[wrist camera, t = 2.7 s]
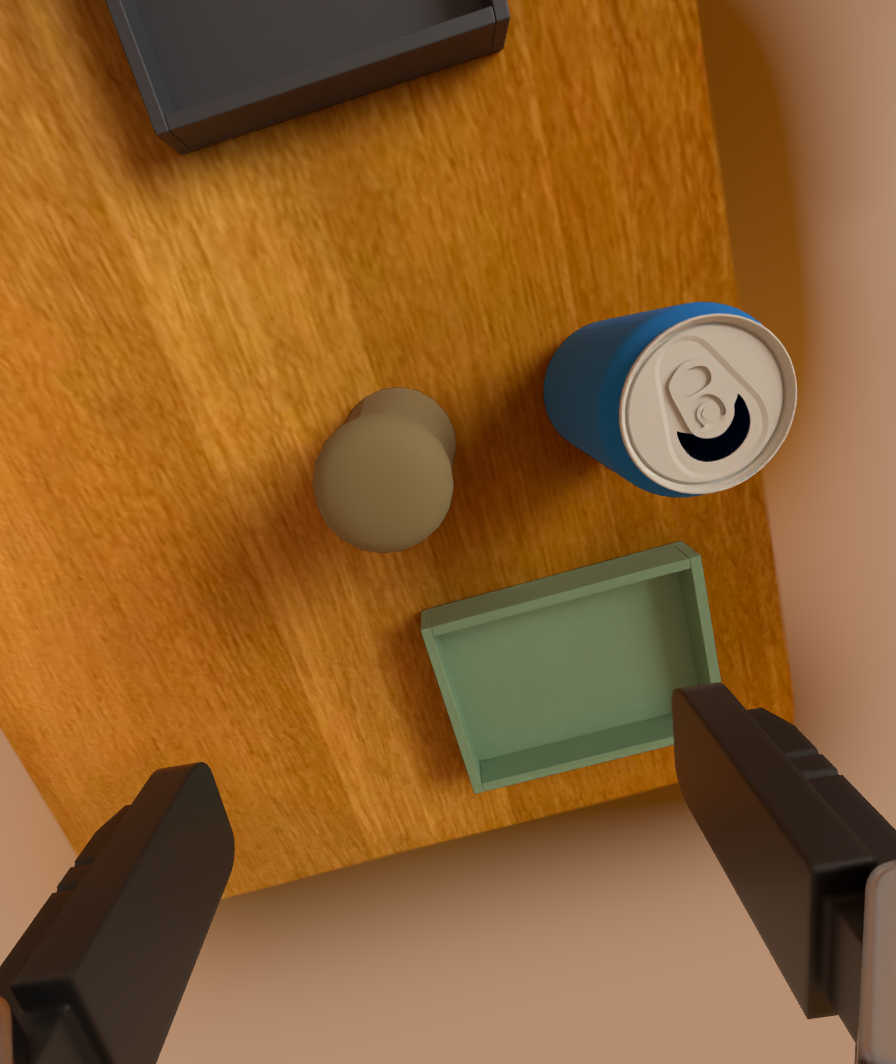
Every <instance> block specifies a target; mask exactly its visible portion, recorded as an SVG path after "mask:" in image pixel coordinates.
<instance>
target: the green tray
mask: <svg viewBox="0 0 896 1064" xmlns="http://www.w3.org/2000/svg"><path fill="white" fill-rule="evenodd" d="M420 631H421V634H422V637H423V640H424V643H425V646H426V649H427V652H428V655H429V658H430V661H431V664H432V667H433V670H434V673H435V676H436V679H437V682H438V685H439V688H440V691H441V694H442V697H443V700H444V703H445V707H446V710H447V713H448V716H449V719H450V722H451V725H452V728H453V731H454V734H455V737H456V740H457V743H458V746H459V749H460V752H461V755H462V758H463V761H464V764H465V767H466V770H467V773H468V776H469V779H470V782H471V785H472V788H473V791H474V793H475V794H477V793H481V792H484V791H489V790H493V789H497V788H501V787H505V786H509V785H513V784H517V783H521V782H525V781H529V780H533V779H537V778H541V777H545V776H549V775H554V774H558V773H562V772H566V771H570V770H574V769H578V768H582V767H586V766H590V765H594V764H598V763H602V762H606V761H610V760H614V759H618V758H622V757H626V756H630V755H634V754H638V753H642V752H646V751H651V750H655V749H659V748H663V747H667V746H671V745H674V737H673V720H672V703H671V697H672V692H673V690H674V689H678V688H684V687H690V686H697V685H703V684H709V683H716V682H720V683H721V679H720V672H719V666H718V660H717V654H716V648H715V641H714V635H713V629H712V623H711V616H710V610H709V604H708V598H707V592H706V585H705V579H704V573H703V567H702V561H701V555H699V554H698V553H697V552H695V551H694V550H693V549H691V548H690V547H689V546H688V545H686V544H685V543H683V542H682V541H679V542H675V543H671V544H667V545H664V546H660V547H656V548H653V549H649V550H645V551H641V552H638V553H634V554H630V555H627V556H623V557H619V558H615V559H612V560H608V561H604V562H601V563H597V564H593V565H589V566H586V567H582V568H578V569H575V570H571V571H567V572H563V573H560V574H556V575H552V576H549V577H545V578H541V579H537V580H534V581H530V582H526V583H523V584H519V585H515V586H512V587H508V588H504V589H500V590H497V591H493V592H489V593H486V594H482V595H478V596H474V597H471V598H467V599H463V600H460V601H456V602H452V603H448V604H445V605H441V606H437V607H434V608H430V609H426V610H422V611H421V630H420Z"/></svg>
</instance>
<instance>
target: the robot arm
mask: <svg viewBox="0 0 896 1064" xmlns="http://www.w3.org/2000/svg"><path fill="white" fill-rule="evenodd" d="M671 703H672V720H673V737H674V753H675V767H676V773H677V778H678V782H679V785H680V788H681V791H682V794H683V796H684V799H685V801H686V803H687V805H688V807H689V809H690V811H691V813H692V814H693V816H694V818H695V820H696V821H697V823H698V825H699V827H700V829H701V830H702V832H703V834H704V836H705V838H706V839H707V841H708V843H709V845H710V846H711V848H712V850H713V852H714V853H715V855H716V857H717V859H718V861H719V862H720V864H721V866H722V868H723V869H724V871H725V873H726V875H727V877H728V878H729V880H730V882H731V884H732V885H733V887H734V889H735V891H736V893H737V894H738V896H739V898H740V900H741V902H742V903H743V905H744V907H745V908H746V910H747V912H748V914H749V916H750V918H751V919H752V921H753V923H754V925H755V926H756V928H757V930H758V932H759V934H760V935H761V937H762V939H763V941H764V943H765V944H766V946H767V948H768V949H769V951H770V953H771V955H772V957H773V958H774V960H775V962H776V964H777V965H778V967H779V969H780V971H781V973H782V974H783V976H784V978H785V980H786V982H787V983H788V985H789V987H790V988H791V990H792V992H793V994H794V996H795V998H796V999H797V1001H798V1003H799V1005H800V1006H801V1008H802V1010H803V1012H804V1013H805V1015H806V1017H807V1019H813V1018H820V1017H827V1016H834V1015H839V1017H840V1018H841V1020H842V1021H843V1023H844V1025H845V1026H846V1028H847V1030H848V1031H849V1033H850V1034H851V1036H852V1038H853V1039H854V1041H855V1043H856V1046H855V1062H854V1064H896V830H895V829H894V828H893V827H892V826H891V825H890V824H889V823H888V822H887V821H886V820H885V819H884V818H883V816H882V815H881V814H879V812H878V811H877V810H876V809H875V808H874V807H873V806H872V805H871V804H870V803H869V802H868V801H867V800H866V799H865V798H864V797H863V796H862V795H861V794H860V793H859V792H858V791H857V790H856V789H855V788H854V787H853V786H852V785H851V784H850V783H849V782H848V780H847V779H846V778H845V777H844V776H843V775H839V774H838V772H837V769H836V768H835V767H834V766H833V765H832V764H831V763H830V762H829V761H828V760H827V759H826V758H825V757H824V756H823V755H822V754H820V755H819V753H818V751H817V749H816V747H815V746H814V745H813V744H812V743H811V742H810V741H809V740H808V739H807V738H806V737H805V736H804V735H803V734H802V733H801V732H800V731H799V730H798V729H797V728H796V727H795V726H794V725H792V724H790V723H789V722H787V721H785V720H783V719H781V718H780V717H778V716H776V715H774V714H772V713H771V712H769V711H767V710H765V709H763V708H758V709H751V710H746V709H745V708H744V707H743V706H742V704H741V703H740V702H739V701H738V700H737V699H736V698H735V697H734V695H733V694H732V693H731V692H730V691H729V690H728V689H727V687H726V686H725V685H724V684H722V683H720V682H716V683H709V684H703V685H697V686H690V687H684V688H678V689H674V690H673V692H672V697H671ZM234 850H235V848H234V836H233V832H232V828H231V825H230V823H229V820H228V817H227V814H226V811H225V808H224V805H223V803H222V800H221V797H220V794H219V791H218V788H217V785H216V783H215V780H214V777H213V774H212V772H211V769H210V768H209V766H208V765H207V764H206V763H203V762H199V763H193V764H187V765H180V766H174V767H168V768H161V769H158V770H156V771H155V772H154V773H153V774H152V775H151V776H150V778H149V779H148V781H147V782H146V784H145V785H144V787H143V788H142V790H141V791H140V793H139V794H138V796H137V797H136V799H135V800H134V801H133V803H132V804H131V805H126V806H124V807H123V808H122V809H121V810H120V811H119V812H118V813H117V814H115V815H114V816H113V817H112V818H111V819H110V820H109V821H108V822H106V823H105V824H104V825H103V826H102V827H101V828H100V829H99V830H98V831H96V832H95V834H94V835H93V837H92V838H91V839H90V841H89V842H88V844H87V845H86V847H85V848H84V849H83V851H82V852H81V854H80V855H79V856H78V858H77V859H76V861H75V866H74V867H71V868H70V869H69V870H68V872H67V873H66V875H65V876H64V878H63V879H62V881H61V882H60V883H59V885H58V886H57V892H56V893H52V895H51V896H50V897H49V899H48V900H47V902H46V903H45V904H44V906H43V907H42V909H41V910H40V911H39V913H38V914H37V916H36V917H35V918H34V920H33V921H32V923H31V924H30V926H29V927H28V928H27V930H26V931H25V933H24V934H23V936H22V937H21V938H20V940H19V941H18V942H17V944H16V945H15V947H14V948H13V949H12V951H11V953H10V954H9V955H8V956H7V958H6V959H5V961H4V962H3V964H2V965H1V966H0V1064H156V1062H157V1060H158V1057H159V1054H160V1052H161V1049H162V1047H163V1044H164V1041H165V1039H166V1037H167V1034H168V1031H169V1029H170V1026H171V1024H172V1021H173V1019H174V1016H175V1014H176V1011H177V1009H178V1006H179V1004H180V1001H181V999H182V996H183V993H184V991H185V988H186V986H187V983H188V980H189V978H190V976H191V973H192V970H193V968H194V965H195V963H196V960H197V958H198V955H199V953H200V950H201V948H202V945H203V942H204V940H205V937H206V935H207V932H208V930H209V927H210V925H211V922H212V920H213V917H214V914H215V912H216V909H217V907H218V904H219V902H220V899H221V897H222V894H223V892H224V889H225V887H226V884H227V881H228V879H229V876H230V874H231V871H232V867H233V861H234Z"/></svg>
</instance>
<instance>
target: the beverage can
mask: <svg viewBox="0 0 896 1064" xmlns="http://www.w3.org/2000/svg"><path fill="white" fill-rule="evenodd" d="M544 402H545V407H546V411H547V414H548V417H549V419H550V421H551V423H552V424H553V426H554V427H555V429H556V430H557V431H558V432H559V434H560V435H561V436H562V437H563V438H565V439H566V440H567V441H568V442H570V443H571V444H573V445H574V446H576V447H577V448H579V449H580V450H582V451H583V452H585V453H586V454H588V455H590V456H591V457H593V458H594V459H596V460H597V461H599V462H600V463H602V464H603V465H605V466H606V467H608V468H609V469H611V470H612V471H614V472H615V473H617V474H618V475H620V476H621V477H623V478H625V479H626V480H628V481H629V482H631V483H632V484H634V485H636V486H637V487H639V488H641V489H643V490H645V491H648V492H650V493H653V494H657V495H661V496H667V497H693V496H699V495H703V494H708V493H714V492H718V491H722V490H726V489H728V488H731V487H734V486H736V485H738V484H740V483H742V482H744V481H746V480H747V479H749V478H750V477H752V476H753V475H754V474H756V473H757V472H758V471H759V470H761V469H762V468H763V467H764V466H765V465H766V464H767V463H768V462H769V461H770V460H771V459H772V458H773V456H774V455H775V453H776V452H777V451H778V450H779V448H780V447H781V445H782V443H783V442H784V440H785V438H786V436H787V434H788V432H789V429H790V427H791V424H792V421H793V418H794V414H795V409H796V404H797V381H796V376H795V371H794V367H793V364H792V362H791V359H790V357H789V355H788V353H787V351H786V349H785V347H784V346H783V345H782V344H781V342H780V341H779V340H778V338H776V336H775V335H773V333H772V332H771V331H769V330H768V329H766V328H765V327H764V326H762V324H761V323H760V322H759V321H757V320H756V319H754V318H753V317H752V316H750V315H749V314H747V313H745V312H743V311H741V310H739V309H737V308H734V307H731V306H728V305H725V304H719V303H713V302H694V303H686V304H681V305H676V306H671V307H666V308H661V309H656V310H651V311H646V312H641V313H637V314H632V315H627V316H622V317H617V318H612V319H607V320H602V321H598V322H594V323H591V324H589V325H586V326H584V327H582V328H581V329H579V330H577V331H576V332H574V333H573V334H572V335H570V336H569V337H568V338H567V339H566V340H565V341H564V342H563V343H562V344H561V345H560V347H559V348H558V349H557V351H556V352H555V354H554V355H553V357H552V359H551V361H550V363H549V366H548V368H547V372H546V375H545V380H544Z"/></svg>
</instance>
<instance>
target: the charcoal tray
mask: <svg viewBox="0 0 896 1064" xmlns="http://www.w3.org/2000/svg"><path fill="white" fill-rule="evenodd" d="M105 1H106V4H107V6H108V9H109V11H110V14H111V17H112V19H113V22H114V25H115V27H116V30H117V33H118V35H119V38H120V41H121V43H122V46H123V49H124V51H125V54H126V57H127V59H128V62H129V65H130V67H131V70H132V73H133V75H134V78H135V81H136V83H137V86H138V89H139V91H140V94H141V97H142V99H143V102H144V105H145V107H146V110H147V113H148V115H149V118H150V120H151V123H152V126H153V128H154V131H155V134H156V135H157V136H158V137H159V138H160V139H162V140H163V141H164V142H166V143H167V144H168V145H169V146H171V147H172V148H173V149H174V150H176V151H177V152H178V153H179V154H181V155H183V154H186V153H189V152H192V151H195V150H198V149H201V148H204V147H207V146H210V145H213V144H216V143H219V142H222V141H225V140H228V139H231V138H234V137H237V136H240V135H243V134H246V133H249V132H252V131H255V130H259V129H262V128H265V127H268V126H271V125H274V124H277V123H280V122H283V121H286V120H289V119H292V118H295V117H298V116H301V115H304V114H307V113H310V112H313V111H316V110H319V109H322V108H325V107H328V106H331V105H334V104H337V103H340V102H343V101H346V100H350V99H353V98H356V97H359V96H362V95H365V94H368V93H371V92H374V91H377V90H380V89H383V88H386V87H389V86H392V85H395V84H398V83H401V82H404V81H407V80H410V79H413V78H416V77H419V76H422V75H425V74H428V73H431V72H434V71H438V70H441V69H444V68H447V67H450V66H453V65H456V64H459V63H462V62H465V61H468V60H471V59H474V58H477V57H480V56H483V55H486V54H489V53H492V52H495V51H498V50H501V49H503V48H504V42H505V38H506V34H507V29H508V24H509V20H510V13H509V8H508V4H507V0H105Z"/></svg>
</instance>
